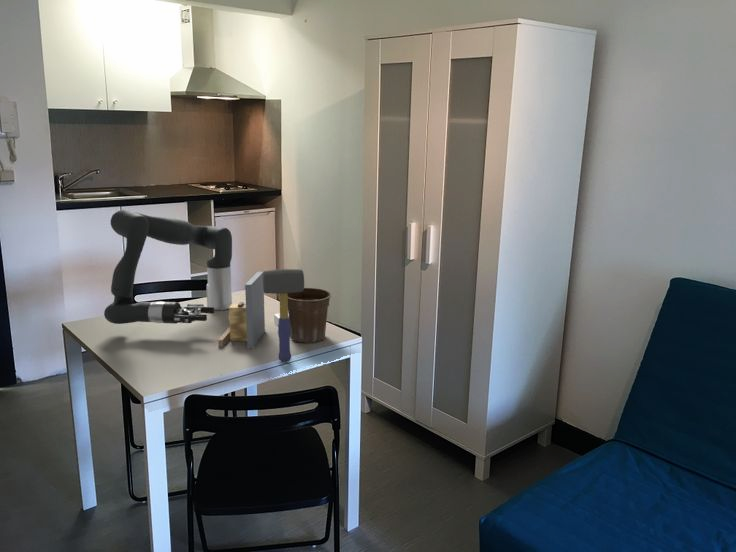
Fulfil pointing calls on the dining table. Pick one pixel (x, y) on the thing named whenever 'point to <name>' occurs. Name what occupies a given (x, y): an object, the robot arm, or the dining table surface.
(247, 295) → the wall board
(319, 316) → the plant pot
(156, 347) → the dining table surface
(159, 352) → the dining table surface
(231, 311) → the ochre block
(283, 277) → the rubber mallet
